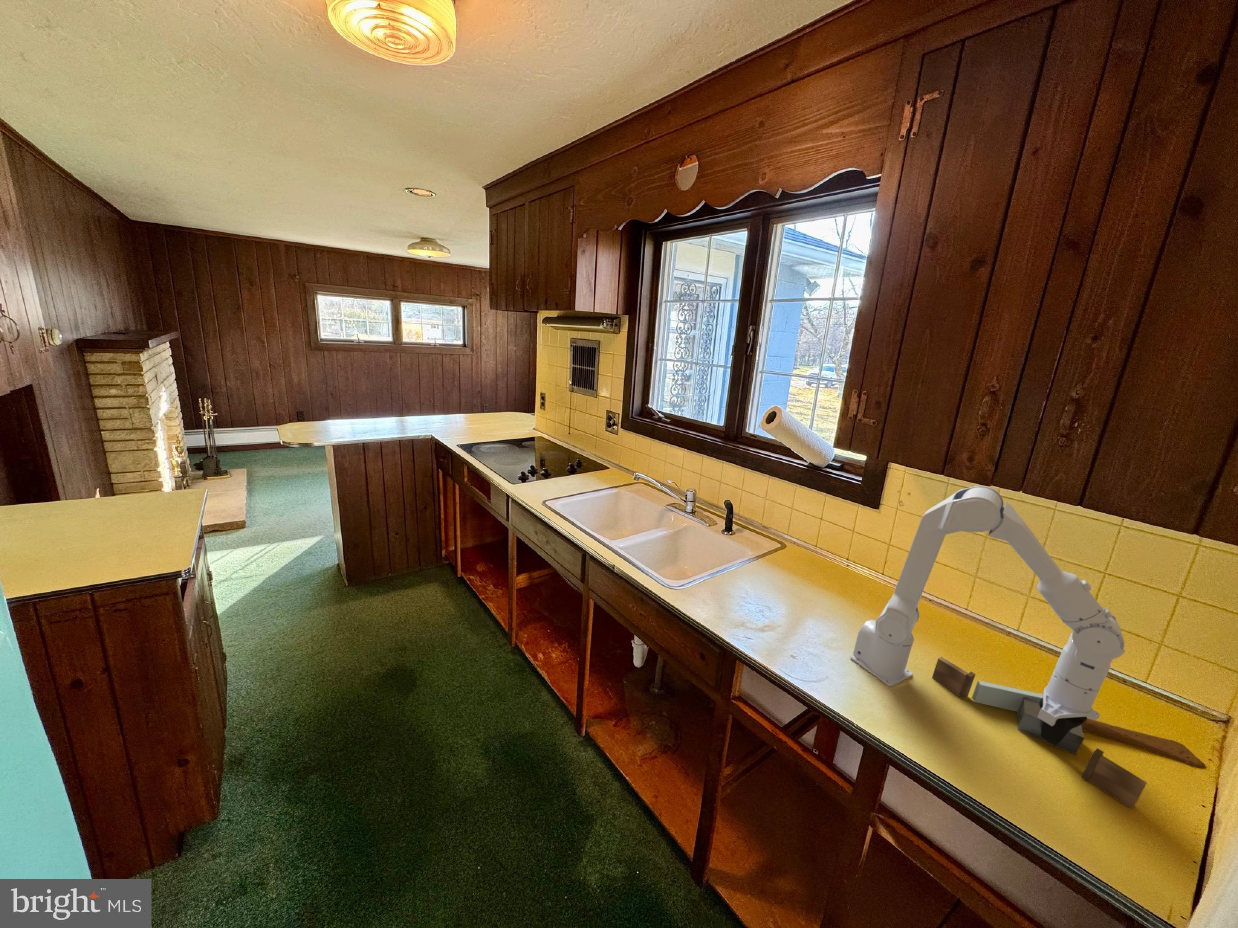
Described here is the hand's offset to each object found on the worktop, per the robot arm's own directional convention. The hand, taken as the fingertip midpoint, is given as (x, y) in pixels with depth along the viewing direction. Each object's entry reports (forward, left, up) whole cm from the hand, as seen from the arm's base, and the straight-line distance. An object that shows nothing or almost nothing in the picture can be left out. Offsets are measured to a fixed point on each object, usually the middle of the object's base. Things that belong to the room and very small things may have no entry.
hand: (1049, 739), depth 82 cm
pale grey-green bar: (-7, +4, -1) cm, 8 cm away
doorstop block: (-1, +3, -2) cm, 4 cm away
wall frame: (-4, -1, -1) cm, 4 cm away
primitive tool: (+6, +17, -2) cm, 18 cm away
